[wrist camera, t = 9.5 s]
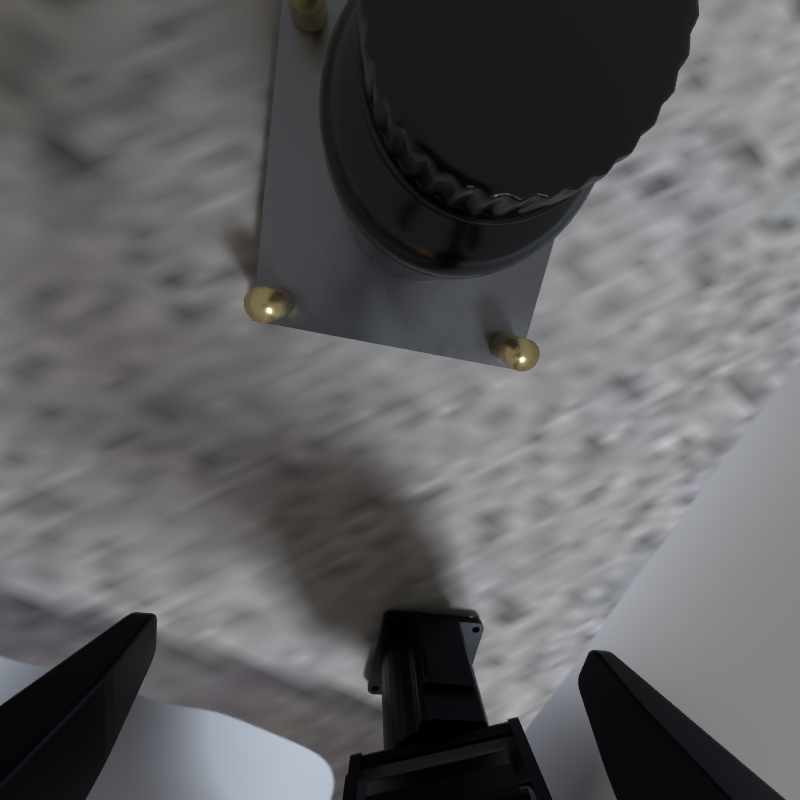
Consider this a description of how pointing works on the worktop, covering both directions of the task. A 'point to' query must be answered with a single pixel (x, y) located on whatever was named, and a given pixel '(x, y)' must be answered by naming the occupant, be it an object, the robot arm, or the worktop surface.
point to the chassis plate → (340, 253)
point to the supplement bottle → (486, 120)
